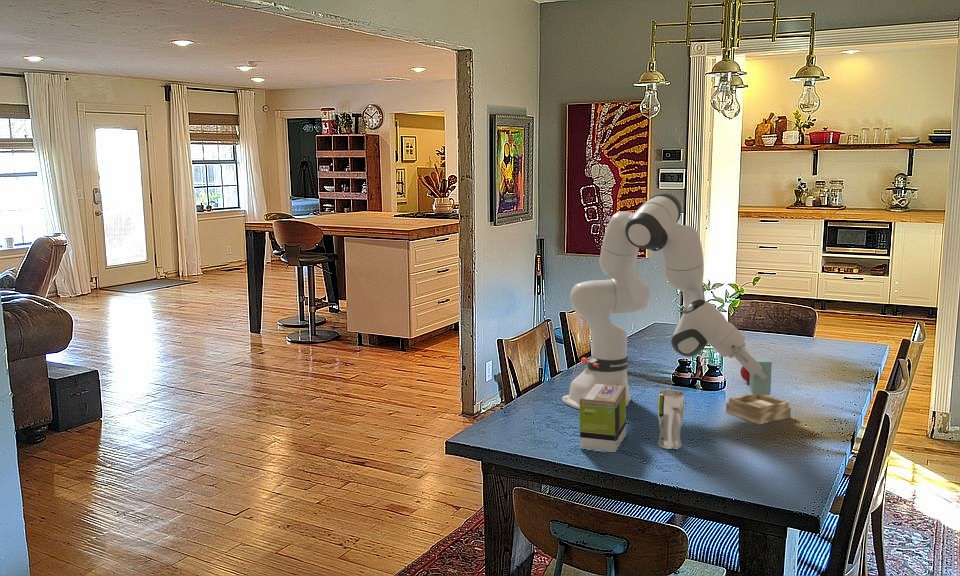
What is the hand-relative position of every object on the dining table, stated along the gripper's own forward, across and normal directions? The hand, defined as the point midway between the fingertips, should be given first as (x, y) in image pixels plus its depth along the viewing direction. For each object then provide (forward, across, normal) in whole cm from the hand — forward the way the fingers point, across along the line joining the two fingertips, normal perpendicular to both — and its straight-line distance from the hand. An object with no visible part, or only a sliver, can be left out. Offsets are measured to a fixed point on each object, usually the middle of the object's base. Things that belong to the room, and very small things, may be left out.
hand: (762, 375), depth 235 cm
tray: (+8, +1, +9) cm, 13 cm away
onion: (+12, +35, +6) cm, 37 cm away
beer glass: (-12, -27, +30) cm, 43 cm away
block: (+3, 0, +4) cm, 5 cm away
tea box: (-24, -26, +43) cm, 56 cm away
